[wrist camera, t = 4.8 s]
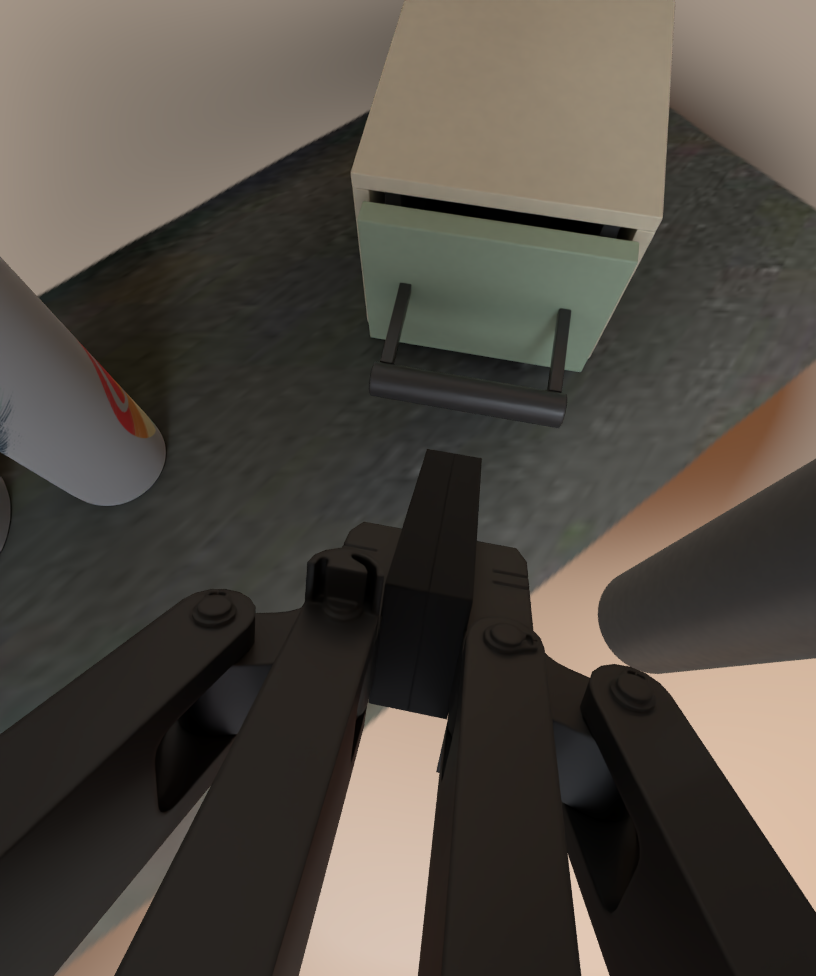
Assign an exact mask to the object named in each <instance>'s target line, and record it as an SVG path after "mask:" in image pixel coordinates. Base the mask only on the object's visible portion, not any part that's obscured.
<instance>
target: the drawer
mask: <svg viewBox="0 0 816 976" xmlns="http://www.w3.org/2000/svg"><path fill="white" fill-rule="evenodd" d="M357 223H358V232H359V241H360V250H361V259H362V268H363V277H364V286H365V295H366V303H367V312H368V321H369V330H370V337H373V338H379V339H385V344H384V348H383V352H382V356H381V360H380V362H375V363H374V365H373V367H372V370H371V375H370V382H369V393H370V395H371V396H377V397H383V398H388V399H394V400H400V401H406V402H411V403H417V404H423V405H428V406H434V407H440V408H446V409H451V410H457V411H463V412H469V413H474V414H480V415H486V416H492V417H497V418H503V419H509V420H514V421H520V422H526V423H532V424H537V425H543V426H549V427H555V428H559V427H560V426H561V424H562V422H563V419H564V416H565V412H566V407H567V395H566V394H565V393H561V392H562V386H563V377H564V370H570V371H576V372H581V371H582V369H583V367H584V365H585V363H586V361H587V359H588V357H589V356H590V354H591V352H592V350H593V348H594V346H595V344H596V342H597V340H598V338H599V336H600V334H601V333H602V331H603V329H604V327H605V325H606V323H607V321H608V319H609V317H610V315H611V313H612V311H613V309H614V308H615V306H616V304H617V302H618V300H619V298H620V296H621V294H622V292H623V290H624V288H625V286H626V285H627V283H628V281H629V279H630V277H631V275H632V273H633V271H634V269H635V267H636V265H637V263H638V254H639V242H635V241H628V240H621V239H616V237H617V234H618V232H619V230H620V228H621V227H618V226H612V225H605V224H598V223H591V222H584V221H578V220H571V219H564V218H557V217H551V216H544V215H537V214H530V213H524V212H517V211H510V210H503V209H497V208H490V207H483V206H476V205H469V204H463V203H456V202H449V201H442V200H436V199H429V198H422V197H415V196H409V195H402V194H395V193H388V192H385V204H380V203H374V202H367V201H363V202H362V206H361V209H360V212H359V216H358V219H357ZM399 342H403V343H408V344H414V345H420V346H426V347H432V348H438V349H444V350H450V351H456V352H462V353H468V354H474V355H480V356H486V357H492V358H498V359H504V360H510V361H516V362H522V363H528V364H534V365H540V366H546V367H550V373H549V380H548V388H547V390H541V389H535V388H529V387H523V386H518V385H512V384H506V383H500V382H494V381H488V380H482V379H476V378H471V377H465V376H459V375H453V374H447V373H441V372H435V371H429V370H423V369H418V368H412V367H406V366H400V365H394V362H395V358H396V354H397V350H398V345H399Z"/></svg>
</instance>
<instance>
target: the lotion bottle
mask: <svg viewBox="0 0 816 976" xmlns="http://www.w3.org/2000/svg"><path fill="white" fill-rule="evenodd" d="M0 452H1V453H3V454H5V455H6V456H8V457H10V458H11V459H13V460H15V461H16V462H18V463H20V464H21V465H23V466H25V467H26V468H28V469H30V470H31V471H33V472H35V473H36V474H38V475H39V476H41V477H43V478H44V479H46V480H48V481H49V482H51V483H53V484H54V485H56V486H58V487H59V488H61V489H63V490H65V491H66V492H68V493H70V494H72V495H73V496H75V497H77V498H79V499H81V500H83V501H85V502H88V503H91V504H95V505H101V506H113V505H119V504H123V503H126V502H129V501H131V500H133V499H135V498H137V497H139V496H140V495H142V494H143V493H144V492H146V491H147V490H148V489H149V488H150V487H151V486H152V485H153V484H154V482H155V481H156V480H157V478H158V477H159V475H160V473H161V471H162V469H163V466H164V463H165V457H166V448H165V443H164V439H163V437H162V435H161V433H160V431H159V429H158V428H157V427H156V425H155V424H154V423H153V422H152V420H151V419H150V418H149V417H148V416H147V415H146V414H145V412H144V411H143V410H142V409H141V408H140V407H139V406H138V405H137V404H136V403H135V402H134V400H133V399H132V398H131V397H130V396H129V395H128V394H127V393H126V392H125V391H124V390H123V389H122V388H121V386H120V385H119V384H118V383H117V382H116V381H115V380H114V379H113V378H112V377H111V376H110V375H109V374H108V372H107V371H106V370H105V369H104V368H103V367H102V366H101V365H100V364H99V363H98V362H97V361H96V359H95V358H94V357H93V356H92V355H91V354H90V353H89V352H88V351H87V350H86V349H85V348H84V347H83V345H82V344H81V343H80V342H79V341H78V340H77V339H76V338H75V337H74V336H73V335H72V334H71V332H70V331H69V330H68V329H67V328H66V327H65V326H64V325H63V324H62V323H61V322H60V321H59V320H58V318H57V317H56V316H55V315H54V314H53V313H52V312H51V311H50V310H49V309H48V308H47V307H46V305H45V304H44V303H43V302H42V301H41V300H40V299H39V298H38V297H37V296H36V295H35V294H34V293H33V292H32V290H31V289H30V288H29V287H28V286H27V285H26V284H25V283H24V282H23V281H22V280H21V279H20V277H19V276H18V275H17V274H16V273H15V272H14V271H13V270H12V269H11V268H10V267H9V266H8V265H7V264H6V262H5V261H4V260H3V259H2V258H1V257H0Z"/></svg>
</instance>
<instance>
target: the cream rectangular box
mask: <svg viewBox="0 0 816 976" xmlns="http://www.w3.org/2000/svg"><path fill="white" fill-rule="evenodd" d="M674 14H675V0H405V1H404V4H403V7H402V10H401V14H400V17H399V20H398V23H397V26H396V30H395V33H394V36H393V39H392V42H391V45H390V49H389V52H388V55H387V58H386V62H385V65H384V68H383V71H382V74H381V77H380V81H379V84H378V87H377V90H376V93H375V97H374V100H373V103H372V106H371V109H370V112H369V116H368V119H367V122H366V125H365V128H364V132H363V135H362V138H361V141H360V144H359V148H358V151H357V154H356V157H355V160H354V164H353V167H352V170H351V181H352V187H353V197H354V205H355V214H356V223H357V219H358V216H359V212H360V209H361V206H362V202H363V201H367V202H374V203H380V204H385V192H388V193H395V194H402V195H409V196H415V197H422V198H429V199H436V200H442V201H449V202H456V203H463V204H469V205H476V206H483V207H490V208H497V209H503V210H510V211H517V212H524V213H530V214H537V215H544V216H551V217H557V218H564V219H571V220H578V221H584V222H591V223H598V224H605V225H612V226H618V227H621V228H620V230H619V232H618V234H617V237H616V239H621V240H628V241H635V242H639V254H638V263H637V265H636V267H635V269H634V271H633V273H632V275H631V277H630V279H629V281H628V283H627V285H628V284H629V282H630V280H631V278H632V276H633V274H634V272H635V270H636V268H637V266H638V264H639V263H640V261H641V259H642V257H643V255H644V253H645V251H646V249H647V247H648V245H649V244H650V242H651V240H652V238H653V236H654V234H655V231H656V230H657V228H658V226H659V224H660V222H661V220H662V219H663V203H664V186H665V169H666V152H667V134H668V117H669V99H670V82H671V64H672V47H673V31H674ZM357 232H358V223H357ZM358 240H359V232H358ZM359 249H360V241H359ZM360 258H361V250H360ZM361 267H362V259H361ZM362 275H363V268H362ZM363 284H364V277H363ZM627 285H626V286H625V288H624V290H623V292H622V294H621V296H620V298H619V300H618V302H617V304H616V306H617V305H618V303H619V301H620V299H621V297H622V295H623V293H624V291H625V289H626V287H627ZM364 293H365V286H364ZM365 302H366V295H365ZM616 306H615V308H616ZM615 308H614V309H613V311H612V313H611V315H610V317H609V319H608V321H607V323H606V325H607V324H608V322H609V320H610V318H611V316H612V314H613V312H614V310H615ZM366 310H367V303H366ZM367 321H368V312H367ZM368 322H369V321H368ZM606 325H605V327H606ZM605 327H604V329H605ZM604 329H603V331H604ZM603 331H602V333H603ZM602 333H601V334H600V336H599V338H598V340H597V342H596V344H595V346H596V345H597V343H598V341H599V339H600V337H601V335H602ZM595 346H594V348H595ZM594 348H593V350H594ZM593 350H592V352H593ZM592 352H591V354H592ZM591 354H590V356H591ZM590 356H589V357H588V358H590Z"/></svg>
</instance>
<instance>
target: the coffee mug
mask: <svg viewBox="0 0 816 976" xmlns="http://www.w3.org/2000/svg"><path fill="white" fill-rule="evenodd" d="M9 524H10V498H9V494H8V491H7V488H6V486H5V483H4V481H3V479H2V478H1V476H0V553H1V551H2V548H3V546H4V543H5V541H6V538H7V534H8V529H9Z"/></svg>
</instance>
